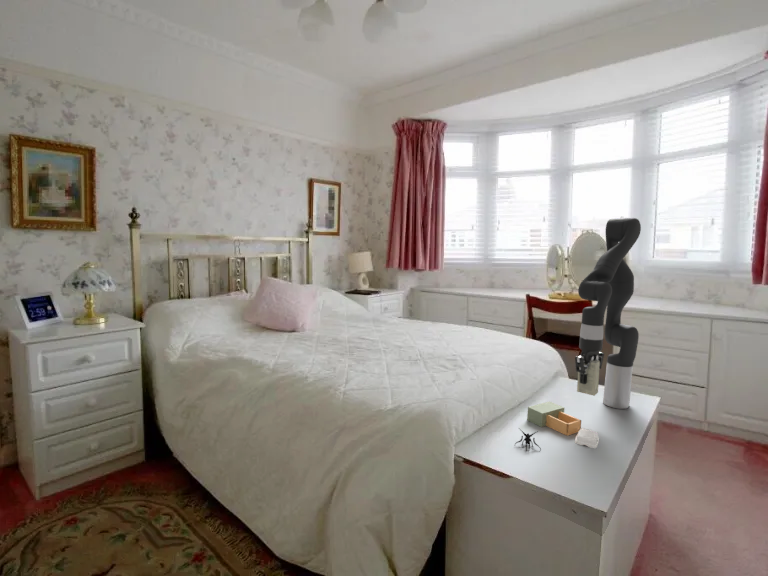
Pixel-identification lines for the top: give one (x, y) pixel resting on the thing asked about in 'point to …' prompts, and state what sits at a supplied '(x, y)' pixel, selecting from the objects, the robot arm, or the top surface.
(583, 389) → the skincare box
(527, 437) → the creature
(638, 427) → the top surface
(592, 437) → the soap
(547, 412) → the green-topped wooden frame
